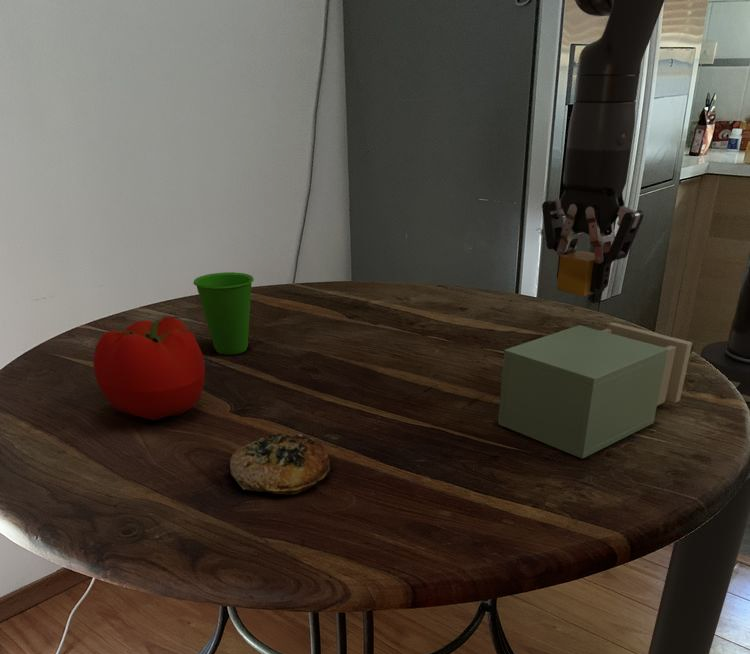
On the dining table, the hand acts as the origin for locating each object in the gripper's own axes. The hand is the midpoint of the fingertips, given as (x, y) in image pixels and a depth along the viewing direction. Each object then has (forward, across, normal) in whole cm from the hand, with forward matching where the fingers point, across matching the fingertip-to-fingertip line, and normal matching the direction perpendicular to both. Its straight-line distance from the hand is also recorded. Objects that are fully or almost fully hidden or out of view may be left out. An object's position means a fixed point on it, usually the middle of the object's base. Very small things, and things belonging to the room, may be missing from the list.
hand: (580, 287), depth 96 cm
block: (0, 0, 0) cm, 0 cm away
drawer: (+12, -9, 0) cm, 15 cm away
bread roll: (+13, +4, +46) cm, 48 cm away
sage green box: (+13, -9, +11) cm, 19 cm away
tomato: (+13, +29, +48) cm, 58 cm away
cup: (+13, +44, +29) cm, 54 cm away
